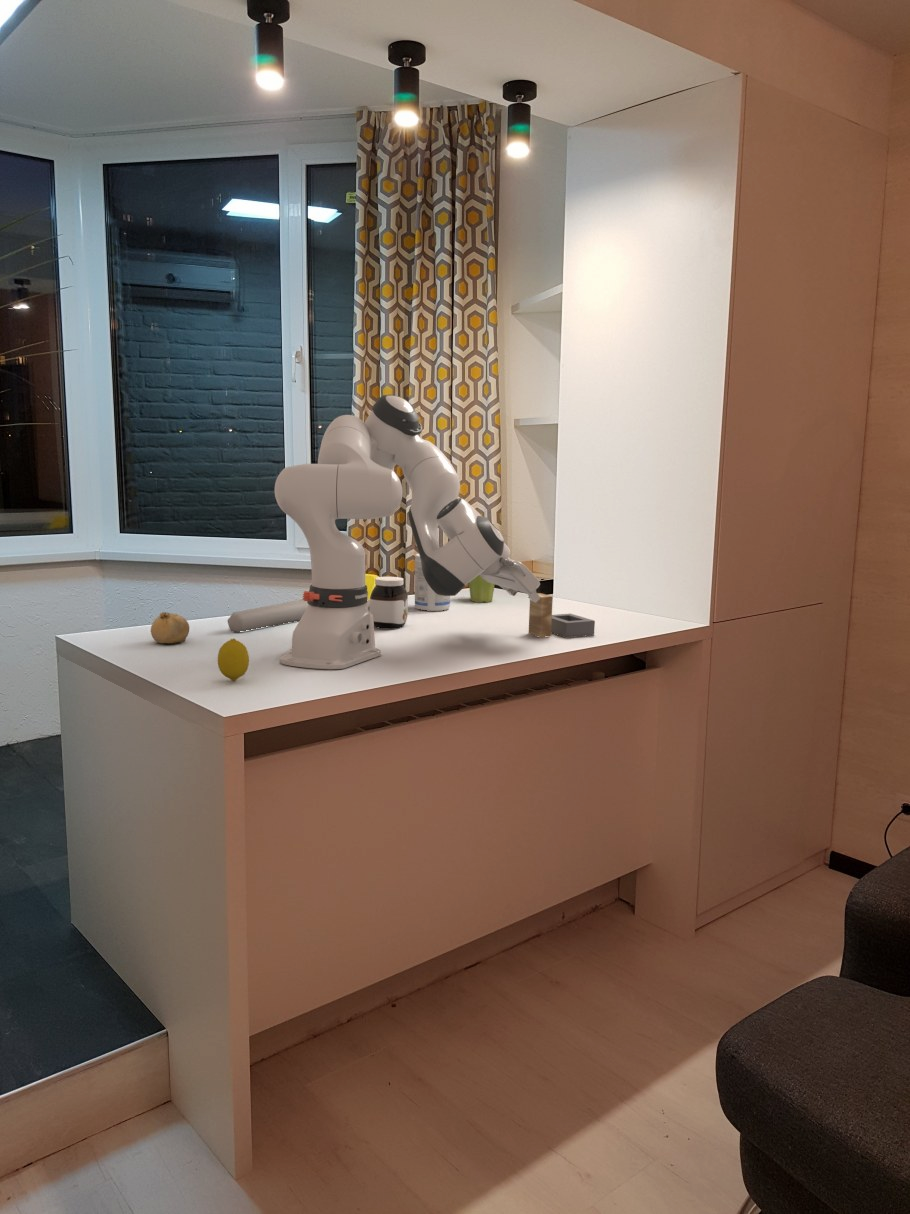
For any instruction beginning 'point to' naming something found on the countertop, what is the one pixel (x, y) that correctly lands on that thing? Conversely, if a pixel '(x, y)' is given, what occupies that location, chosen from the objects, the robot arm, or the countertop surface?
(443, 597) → the supplement tub
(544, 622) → the wooden block
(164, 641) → the onion
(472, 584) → the plant pot
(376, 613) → the spread jar
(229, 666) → the lemon
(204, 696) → the countertop surface
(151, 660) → the countertop surface
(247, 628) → the tube
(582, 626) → the grey socket block
